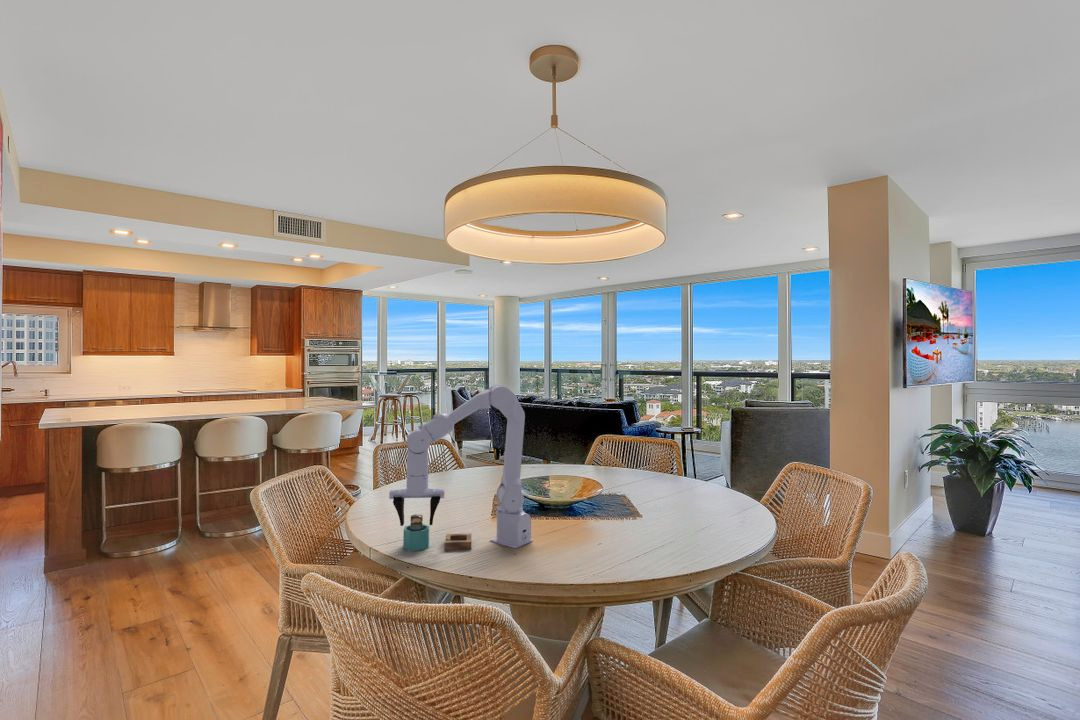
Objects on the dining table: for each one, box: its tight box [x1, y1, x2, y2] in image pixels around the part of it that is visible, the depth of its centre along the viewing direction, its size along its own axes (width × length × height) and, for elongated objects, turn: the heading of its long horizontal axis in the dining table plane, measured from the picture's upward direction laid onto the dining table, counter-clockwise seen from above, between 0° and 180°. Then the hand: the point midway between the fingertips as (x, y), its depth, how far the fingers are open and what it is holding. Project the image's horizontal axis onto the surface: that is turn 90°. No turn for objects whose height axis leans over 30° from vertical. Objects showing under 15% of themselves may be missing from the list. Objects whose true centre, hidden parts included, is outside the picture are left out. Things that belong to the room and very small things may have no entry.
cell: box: [410, 513, 424, 531], centre depth 146 cm, size 3×3×8 cm
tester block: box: [444, 533, 472, 551], centre depth 147 cm, size 7×7×2 cm
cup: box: [402, 523, 430, 552], centre depth 146 cm, size 7×7×5 cm
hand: (416, 524), depth 146 cm, fingers open, 7 cm apart
